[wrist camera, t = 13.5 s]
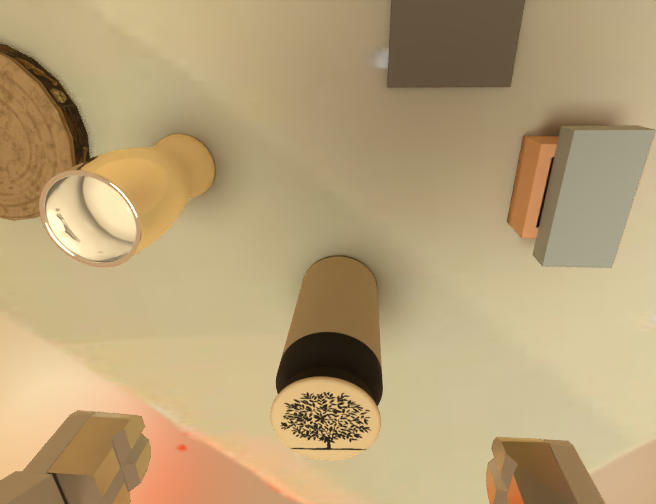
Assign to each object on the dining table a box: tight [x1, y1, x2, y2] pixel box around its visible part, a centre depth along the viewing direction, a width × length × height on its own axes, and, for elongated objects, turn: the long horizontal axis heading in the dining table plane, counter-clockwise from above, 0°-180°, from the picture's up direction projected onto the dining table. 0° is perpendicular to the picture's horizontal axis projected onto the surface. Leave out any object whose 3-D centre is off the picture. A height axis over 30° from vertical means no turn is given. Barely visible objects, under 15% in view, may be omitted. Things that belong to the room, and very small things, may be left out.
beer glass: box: [39, 134, 215, 267], centre depth 32 cm, size 7×7×15 cm
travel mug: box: [271, 256, 383, 460], centre depth 35 cm, size 8×8×18 cm
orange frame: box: [507, 136, 559, 238], centre depth 35 cm, size 8×8×4 cm
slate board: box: [533, 126, 656, 268], centre depth 32 cm, size 11×6×2 cm, turn 1°
